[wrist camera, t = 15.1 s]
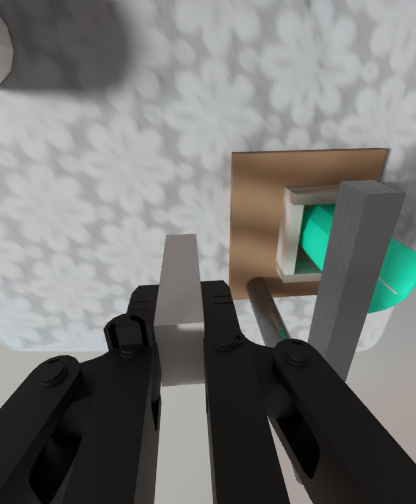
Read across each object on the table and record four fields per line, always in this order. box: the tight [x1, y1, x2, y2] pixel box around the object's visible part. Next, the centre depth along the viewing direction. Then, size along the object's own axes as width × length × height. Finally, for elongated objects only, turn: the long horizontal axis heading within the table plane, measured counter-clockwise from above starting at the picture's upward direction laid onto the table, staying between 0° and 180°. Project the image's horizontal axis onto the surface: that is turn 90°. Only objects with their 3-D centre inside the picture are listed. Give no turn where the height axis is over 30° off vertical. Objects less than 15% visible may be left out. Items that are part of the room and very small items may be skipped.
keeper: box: [246, 180, 406, 485], centre depth 21 cm, size 18×4×19 cm, turn 1°
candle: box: [298, 203, 416, 314], centre depth 25 cm, size 6×6×12 cm
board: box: [229, 148, 387, 300], centre depth 30 cm, size 17×15×4 cm
